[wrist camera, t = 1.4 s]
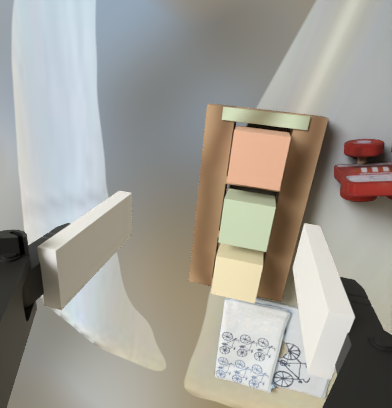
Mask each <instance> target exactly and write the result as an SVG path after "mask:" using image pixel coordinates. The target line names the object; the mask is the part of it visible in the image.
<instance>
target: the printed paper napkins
mask: <svg viewBox="0 0 392 408" xmlns="http://www.w3.org/2000/svg"><path fill="white" fill-rule="evenodd" d="M282 340H283V341H284V343H286V346H287V348H288V354H285V356H283V357H282V358H279V357H278V356H279V353H280V349H281V345H282ZM215 377H217V378H220V379H223V380H227V381H232V382H236V383H238V384H242V385H245V386H249V387H252V388H255V389H258V390H262V391H266V392H268V393H270V392H271V389H272V388H276V386H277V387H281V388H286V389H289V390H293V391H297V392H301V393H306V394H309V395H311V396H315V397H318V398H325V397H326V393H327V388H328V385H329V382H330V379H326V378H323V377H319V376H315V375H311V374H308V372H307V365H306V358H305V351H304V344H303V337H302V330H301V323H300V316H299V309H298V308H297V307H293V306H289V305H285V304H281V303H276V302H272V301H268V300H263V299H259V298H256V301H255V303H250V302H246V301H241V300H237V299H232V298H228V297H227V299H225V301H224V311H223V318H222V325H221V330H220V337H219V346H218V353H217V360H216V369H215Z"/></svg>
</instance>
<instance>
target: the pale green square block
mask: <svg viewBox="0 0 392 408" xmlns="http://www.w3.org/2000/svg"><path fill="white" fill-rule="evenodd" d="M275 209H276V202H275V196H272V195H266V194H260V193H254V192H248V191H242V190H236V189H230V188H228V191H227V193H226V196H225V198H224V205H223V212H222V219H221V226H220V233H219V240H218V243H223V244H228V245H233V246H238V247H243V248H248V249H253V250H258V251H263V252H266V250H267V246H268V241H269V237H270V232H271V227H272V223H273V218H274V214H275Z"/></svg>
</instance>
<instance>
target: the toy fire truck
mask: <svg viewBox="0 0 392 408" xmlns="http://www.w3.org/2000/svg"><path fill="white" fill-rule="evenodd" d="M383 152H384V142H383V141H381V140H375V139H358V140H350V141H347V142H346V143H345V145H344V154H345V155H347V156H352V157H358V158H357V163H353V164H341V165H336V166H335V167H334V177H335V179H336V180H337V181H338V182H339V183H340V184H341V188H340V195H341V197H342V198H344V199H346V200H349V201H355V202H367V201H373V200H375V199H376V198H377V196H386V197H388V198H389V199H392V162H380V163H366V162H367V157H372V156H379V155H381V154H383ZM391 152H392V150H391Z"/></svg>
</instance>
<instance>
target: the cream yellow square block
mask: <svg viewBox="0 0 392 408" xmlns="http://www.w3.org/2000/svg"><path fill="white" fill-rule="evenodd" d="M262 269H263V251H258V250H253V249H248V248H243V247H238V246H233V245H228V244H223V243H220V245H219V249H218V252H217V255H216V261H215V268H214V275H213V282H212V289H211V294H215V295H219V296H224V297H228V298H232V299H237V300H241V301H246V302H250V303H255V301H256V296H257V292H258V287H259V283H260V278H261V273H262Z"/></svg>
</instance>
